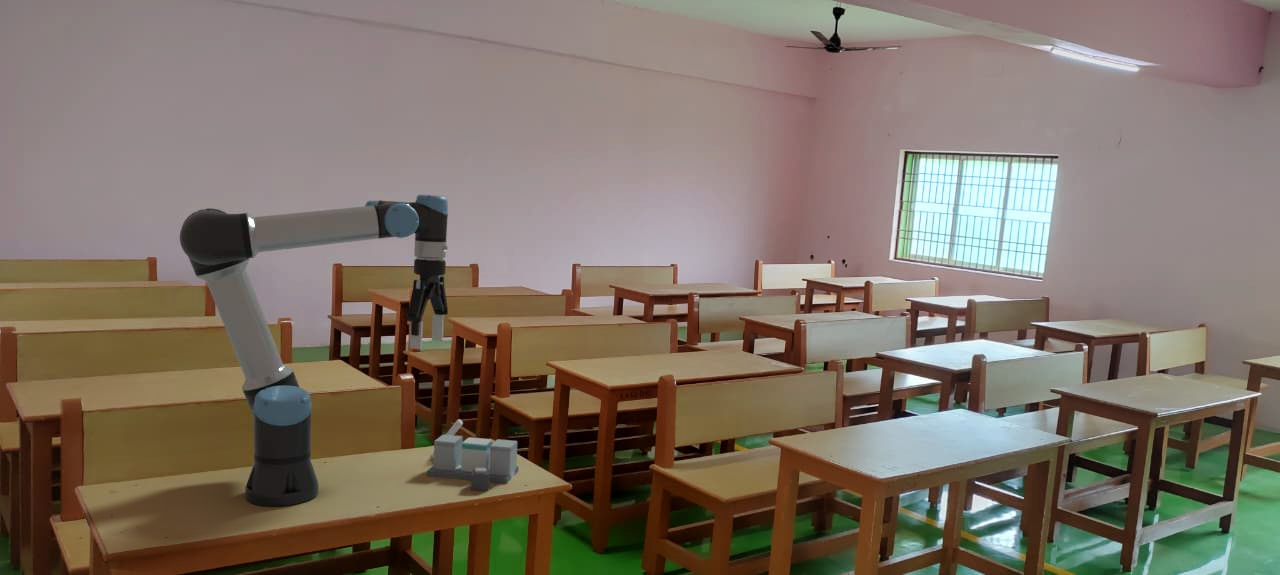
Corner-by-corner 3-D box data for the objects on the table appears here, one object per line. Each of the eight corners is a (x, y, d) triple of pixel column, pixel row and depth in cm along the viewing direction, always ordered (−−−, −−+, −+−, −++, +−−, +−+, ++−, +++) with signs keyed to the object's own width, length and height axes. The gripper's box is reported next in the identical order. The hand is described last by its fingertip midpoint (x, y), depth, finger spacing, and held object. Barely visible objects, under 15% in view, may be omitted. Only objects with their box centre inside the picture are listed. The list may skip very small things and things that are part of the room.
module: (461, 470, 225) (462, 442, 224) (467, 464, 230) (468, 437, 229) (485, 473, 224) (486, 444, 223) (491, 467, 229) (492, 439, 228)
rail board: (426, 475, 224) (427, 442, 223) (441, 463, 234) (442, 432, 233) (507, 483, 221) (508, 449, 220) (518, 471, 231) (519, 438, 230)
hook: (481, 441, 238) (459, 427, 235) (452, 475, 239) (430, 462, 236) (478, 427, 244) (457, 414, 242) (450, 461, 246) (428, 448, 243)
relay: (470, 491, 215) (471, 471, 214) (472, 485, 219) (472, 466, 218) (488, 491, 215) (488, 472, 215) (489, 485, 219) (489, 466, 219)
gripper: (424, 262, 213) (421, 353, 216) (462, 256, 238) (459, 338, 240) (394, 260, 215) (390, 350, 217) (434, 254, 239) (431, 335, 241)
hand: (426, 344), depth 228 cm, fingers open, 13 cm apart
